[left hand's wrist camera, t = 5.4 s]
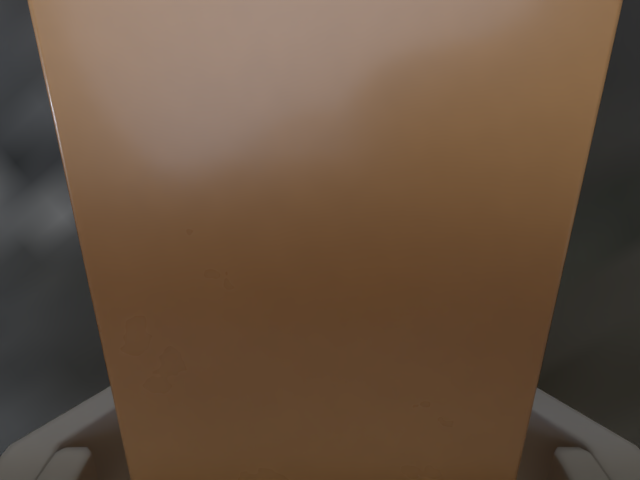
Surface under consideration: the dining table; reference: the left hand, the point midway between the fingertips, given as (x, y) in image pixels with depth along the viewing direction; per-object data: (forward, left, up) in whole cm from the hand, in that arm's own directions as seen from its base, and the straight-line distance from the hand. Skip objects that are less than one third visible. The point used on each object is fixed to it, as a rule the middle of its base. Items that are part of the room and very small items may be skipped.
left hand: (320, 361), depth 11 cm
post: (-2, -21, -3) cm, 21 cm away
